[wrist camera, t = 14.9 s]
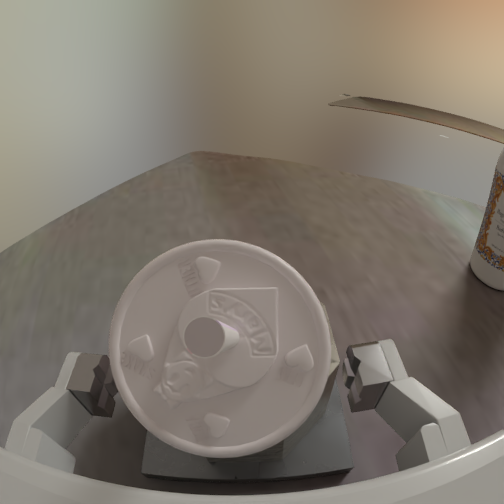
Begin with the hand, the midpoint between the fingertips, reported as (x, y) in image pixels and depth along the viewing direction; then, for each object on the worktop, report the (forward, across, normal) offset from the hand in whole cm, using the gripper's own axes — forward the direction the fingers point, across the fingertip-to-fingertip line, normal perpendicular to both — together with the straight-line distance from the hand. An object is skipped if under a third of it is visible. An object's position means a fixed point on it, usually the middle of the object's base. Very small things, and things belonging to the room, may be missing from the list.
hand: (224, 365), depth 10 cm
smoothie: (+6, 0, +6) cm, 8 cm away
